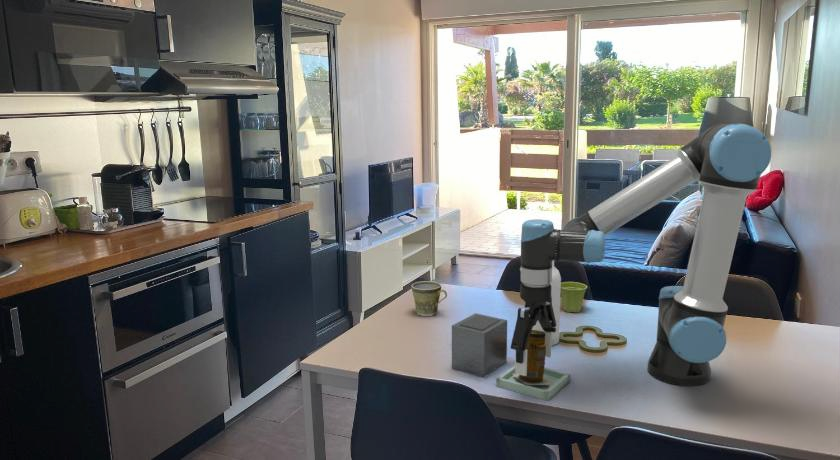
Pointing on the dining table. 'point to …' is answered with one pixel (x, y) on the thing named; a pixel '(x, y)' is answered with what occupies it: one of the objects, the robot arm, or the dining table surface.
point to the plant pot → (572, 296)
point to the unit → (479, 344)
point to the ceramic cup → (427, 297)
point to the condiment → (535, 360)
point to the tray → (538, 391)
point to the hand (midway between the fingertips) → (533, 365)
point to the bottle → (554, 304)
